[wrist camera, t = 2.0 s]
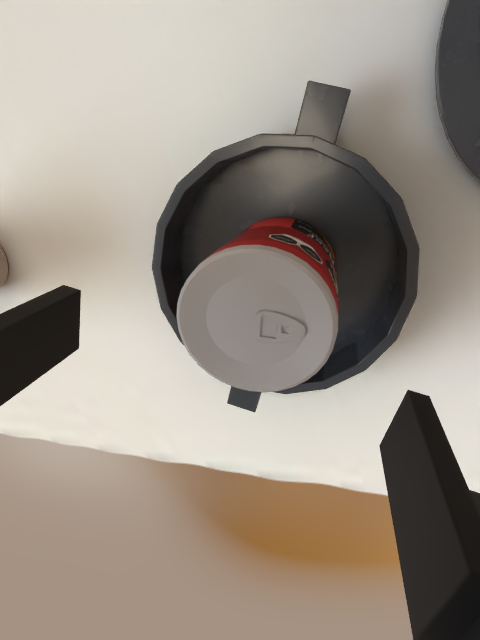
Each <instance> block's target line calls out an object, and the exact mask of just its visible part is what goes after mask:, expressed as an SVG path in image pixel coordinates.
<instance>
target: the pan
mask: <svg viewBox="0 0 480 640" xmlns="http://www.w3.org/2000/svg"><path fill="white" fill-rule="evenodd" d="M350 92H351V90H350V89H346V88H341V87H337V86H332V85H327V84H323V83H318V82H313V81H308V83H307V87H306V91H305V95H304V99H303V103H302V107H301V111H300V115H299V119H298V123H297V127H296V131H295V135H289V134H258V135H256V136H253V137H250V138H248V139H245V140H242V141H239V142H237V143H234V144H231V145H229V146H226V147H223V148H221V149H218V150H215V151H213V152H212V153H211V154H210V155H208V156H207V157H206V158H205V159H204V160H203V161H202V162H201V163H200V164H199V165H197V166H196V167H195V168H194V169H193V170H192V171H191V172H190V173H189V174H188V175H186V176H185V177H184V178H183V179H182V180H181V181H180V182H179V183H178V184H177V185H176V187H175V189H174V191H173V193H172V195H171V197H170V199H169V201H168V203H167V205H166V207H165V209H164V211H163V213H162V215H161V217H160V219H159V221H158V223H157V227H156V236H155V245H154V254H153V262H152V270H153V275H154V279H155V284H156V288H157V293H158V297H159V302H160V306H161V309H162V311H163V313H164V314H165V316H166V318H167V320H168V321H169V323H170V325H171V326H172V328H173V330H174V332H175V333H176V335H177V337H178V338H179V340H180V342H182V344H183V345H184V343H183V341H182V338H181V336H180V333H179V330H178V323H177V303H178V299H179V296H180V292H181V289H182V288H183V286H184V284H185V282H186V280H187V278H188V277H189V276H190V274H191V273H192V272H193V271H194V270H195V269H196V267H197V266H198V265H199V264H200V263H201V262H203V261H204V260H205V259H206V258H207V257H209V256H210V255H211V254H213V253H214V252H215V251H217V250H218V249H219V248H221V247H222V246H223V245H225V244H226V243H227V242H229V241H230V240H232V239H233V238H234V237H236V236H237V235H238V234H240V233H241V232H242V231H244V230H245V229H246V228H248V227H249V226H251V225H252V224H254V223H256V222H258V221H261V220H264V219H268V218H272V217H287V218H294V219H297V220H300V221H303V222H306V223H307V224H309V225H311V226H312V227H314V228H316V229H317V230H318V231H319V232H320V233H321V234H322V235H323V236H324V237H325V238H326V240H327V241H328V242H329V244H330V245H331V248H332V250H333V252H334V255H335V259H336V264H337V283H338V305H339V313H338V333H337V337H336V340H335V344H334V348H333V351H332V352H331V354H330V356H329V358H328V360H327V362H326V363H325V364H324V365H323V366H322V368H321V369H320V370H319V371H318V372H317V373H316V374H315V375H313V376H312V377H311V378H309V379H308V380H307V381H305V382H303V383H301V384H299V385H297V386H294V387H292V388H288V389H284V390H281V391H272V392H276V393H282V394H290V393H298V392H305V391H313V390H321V389H327V388H329V387H331V386H333V385H335V384H338V383H340V382H342V381H344V380H346V379H348V378H350V377H352V376H354V375H357V374H359V373H361V372H363V371H365V370H366V369H367V368H368V367H369V366H370V365H371V364H372V363H373V362H374V361H375V360H376V359H377V358H379V357H380V356H381V355H382V354H383V353H384V352H385V351H386V350H387V349H388V348H389V347H390V346H391V345H392V344H393V343H394V342H395V341H396V340H397V338H398V336H399V334H400V332H401V330H402V328H403V325H404V323H405V321H406V319H407V317H408V315H409V312H410V310H411V308H412V306H413V304H414V302H415V299H416V296H417V285H418V265H419V245H418V242H417V239H416V236H415V234H414V231H413V228H412V225H411V222H410V220H409V217H408V214H407V211H406V209H405V206H404V203H403V200H402V199H401V197H400V196H399V194H398V193H397V192H396V191H395V190H394V189H393V188H392V187H391V186H390V185H389V184H388V183H387V181H386V180H385V179H384V178H383V177H382V176H381V175H380V174H379V173H378V172H377V171H376V170H375V168H374V167H373V166H372V165H371V164H370V163H369V162H368V161H367V160H366V159H364V157H361V156H359V155H357V154H355V153H353V152H350V151H348V150H346V149H344V148H342V147H339V146H337V145H335V143H336V139H337V136H338V133H339V129H340V126H341V123H342V119H343V116H344V112H345V109H346V106H347V102H348V99H349V96H350ZM184 346H185V345H184ZM260 395H261V392H256V391H248V390H244V389H239V388H235V387H233V386H231V390H230V394H229V398H228V402H227V403H228V404H231V405H234V406H237V407H240V408H243V409H246V410H249V411H252V412H255V411H256V408H257V405H258V402H259V398H260Z"/></svg>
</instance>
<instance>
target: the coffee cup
mask: <svg viewBox="0 0 480 640" xmlns="http://www.w3.org/2000/svg"><path fill="white" fill-rule="evenodd" d="M7 276H8V262H7V258H6V256H5V253H4V251H3V249H2V248H1V246H0V286H1V285H3V284H4V282H5V281H6V279H7Z"/></svg>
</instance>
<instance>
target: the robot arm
mask: <svg viewBox="0 0 480 640" xmlns="http://www.w3.org/2000/svg"><path fill="white" fill-rule="evenodd" d="M80 297H81V290H78V289H75V288H72V287H68V286H65V285H63V286H60V287H58V288H56V289H54V290H52V291H50V292H47V293H45V294H43V295H41V296H39V297H36V298H34V299H32V300H30V301H28V302H25V303H23V304H21V305H19V306H17V307H15V308H12V309H10V310H8V311H6V312H4V313H1V314H0V406H1V405H3V404H4V403H5V402H7V401H8V400H9V399H11V398H12V397H13V396H15V395H16V394H18V393H19V392H20V391H22V390H23V389H24V388H26V387H27V386H28V385H30V384H31V383H32V382H34V381H35V380H37V379H38V378H39V377H41V376H42V375H43V374H45V373H46V372H47V371H49V370H50V369H51V368H53V367H54V366H56V365H57V364H58V363H60V362H61V361H62V360H64V359H65V358H66V357H68V356H69V355H70V354H72V353H73V352H75V351H76V350H77V349H79V329H80ZM380 451H381V457H382V463H383V468H384V474H385V480H386V486H387V491H388V497H389V503H390V508H391V514H392V519H393V526H394V531H395V536H396V543H397V548H398V554H399V560H400V566H401V571H402V577H403V583H404V588H405V594H406V600H407V605H408V611H409V617H410V622H411V628H412V634H413V640H480V493H477V492H474V491H471V490H469V489H468V486H467V484H466V482H465V479H464V477H463V474H462V472H461V470H460V467H459V465H458V463H457V460H456V458H455V456H454V453H453V451H452V449H451V446H450V444H449V442H448V439H447V437H446V435H445V432H444V430H443V427H442V425H441V423H440V420H439V418H438V416H437V413H436V411H435V409H434V406H433V404H432V402H431V399H430V397H429V396H427V395H423V394H420V393H417V392H413V391H410V390H408V391H407V393H406V395H405V397H404V398H403V400H402V402H401V404H400V406H399V408H398V410H397V412H396V414H395V416H394V418H393V420H392V422H391V424H390V426H389V428H388V430H387V432H386V434H385V436H384V438H383V440H382V442H381V444H380Z"/></svg>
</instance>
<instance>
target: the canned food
mask: <svg viewBox="0 0 480 640" xmlns="http://www.w3.org/2000/svg"><path fill="white" fill-rule="evenodd" d="M338 313H339V305H338V283H337V264H336V259H335V255H334V252H333V250H332V248H331V245H330V244H329V242H328V241H327V240H326V238H325V237H324V236H323V235H322V234H321V233H320V232H319V231H318V230H317V229H316V228H314V227H312V226H311V225H309V224H307V223H306V222H303V221H300V220H297V219H294V218H287V217H272V218H268V219H264V220H261V221H258V222H256V223H254V224H252V225H251V226H249V227H248V228H246V229H245V230H244V231H242V232H241V233H240V234H238V235H237V236H236V237H234V238H233V239H232V240H230V241H229V242H227V243H226V244H225V245H223V246H222V247H221V248H219V249H218V250H217V251H215V252H214V253H213V254H211V255H210V256H209V257H207V258H206V259H205V260H204V261H203V262H201V263H200V264H199V265H198V266H197V267H196V269H195V270H194V271H193V272H192V273H191V274H190V276H189V277H188V278H187V280H186V282H185V284H184V286H183V288H182V289H181V292H180V296H179V299H178V303H177V323H178V330H179V333H180V336H181V338H182V341H183V343H184V345H185V347H186V349H187V350H188V352H189V354H190V355H191V356H192V358H193V359H194V360H195V361H196V362H197V363H198V365H199V366H200V367H202V368H203V369H204V370H205V371H206V372H208V373H209V374H210V375H211V376H213V377H215V378H216V379H218V380H220V381H221V382H223V383H226V384H228V385H231V386H233V387H235V388H239V389H244V390H248V391H256V392H272V391H281V390H284V389H288V388H292V387H294V386H297V385H299V384H301V383H303V382H305V381H307V380H308V379H309V378H311V377H312V376H313V375H315V374H316V373H317V372H318V371H319V370H320V369H321V368H322V366H323V365H324V364H325V363H326V362H327V360H328V358H329V356H330V354H331V352H332V351H333V348H334V344H335V340H336V337H337V333H338Z"/></svg>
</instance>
